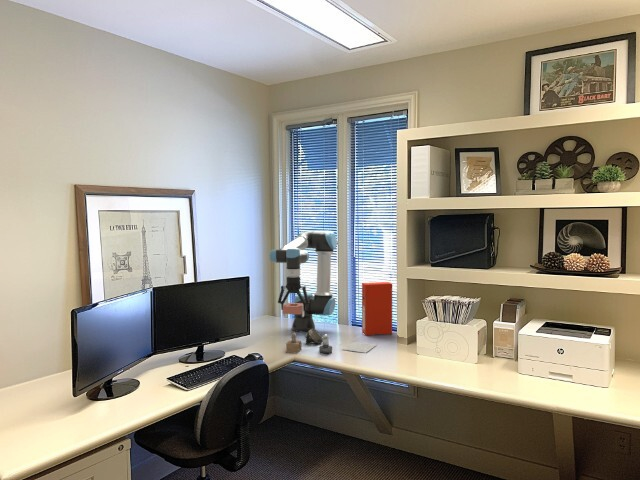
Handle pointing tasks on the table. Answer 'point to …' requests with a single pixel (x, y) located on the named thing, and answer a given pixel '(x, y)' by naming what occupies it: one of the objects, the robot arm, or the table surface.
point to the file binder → (377, 308)
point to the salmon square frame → (292, 308)
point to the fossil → (313, 337)
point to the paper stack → (359, 347)
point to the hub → (325, 346)
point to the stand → (293, 345)
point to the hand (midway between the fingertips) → (293, 316)
